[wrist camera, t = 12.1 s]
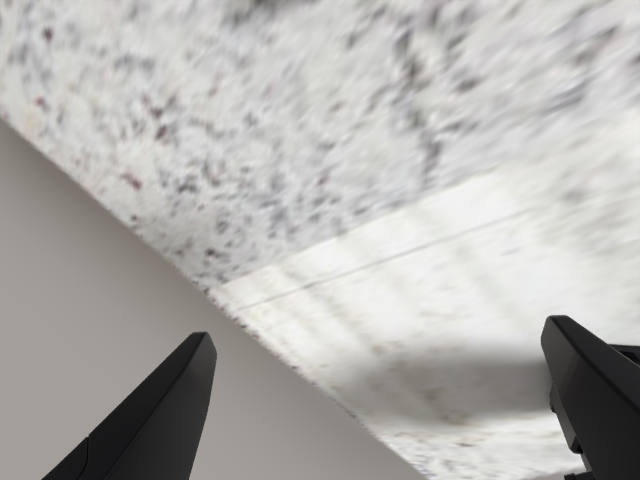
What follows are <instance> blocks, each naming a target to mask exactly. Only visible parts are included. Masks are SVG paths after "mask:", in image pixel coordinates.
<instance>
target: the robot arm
mask: <svg viewBox="0 0 640 480" xmlns="http://www.w3.org/2000/svg"><path fill="white" fill-rule="evenodd" d="M541 346H542V349H543V352H544V355H545V358H546V361H547V364H548V367H549V370H550V373H551V376H552V379H553V382H554V383H553V386H552V389H551V393H550V399H551V400H550V408H551V410H552V412H554V413H556V415H557V417H558V420H559V422H560V425H561V428H562V430H563V433H564V436H565V438H566V441H567V444H568V446H569V449H570V450H571V451H572V452H573V453H576V454H580V455H581V458H582V460H583V463H584V465H585V468H586V470H587V472H583V473H579V474H574V473H571V474H567V475H564V478H565V480H640V348H637V347H621V346H610V345H608V344H607V343H605V342H604V341H603V340H601V339H600V338H598V337H597V336H596V335H594V334H593V333H591V332H590V331H588V330H587V329H586V328H584V327H583V326H581V325H580V324H579V323H577V322H576V321H574V320H573V319H571V318H570V317H568V316H566V315H551V316H548V317H547V319H546V322H545V325H544V328H543V331H542V335H541ZM216 360H217V352H216V348H215V346H214V344H213V342H212V339H211V337H210V335H209V333H208V332H194V333H192V334H191V335H189V336H188V337H187V338H186V340H185V341H183V342H182V343H181V344H180V345H179V346H178V347H177V348H176V349H175V350H174V351H173V352H172V353H171V354H170V355H169V356H168V357H167V358H166V359H165V360H164V361H163V362H162V363H161V364H160V365H159V366H158V367H157V368H156V369H155V370H154V371H153V372H152V373H151V374H150V375H149V376H148V377H147V378H146V379H145V380H144V381H143V382H142V383H141V384H140V385H139V386H138V387H137V388H136V389H135V390H134V391H133V392H132V393H131V394H130V395H129V396H128V397H127V398H126V399H124V400H123V401H122V403H121V404H119V405H118V406H117V407H116V408H115V410H113V411H112V412H111V413H110V414H109V415H108V416H107V417H106V418H105V419H104V420H103V421H102V422H101V423H100V424H99V425H98V426H97V427H96V428H95V429H94V430H93V431H92V432H91V433H90V434H89V437H86V438H85V439H84V440H83V441H82V442H81V443H80V444H79V445H78V446H77V447H76V448H75V449H74V450H73V451H72V452H70V454H68V455H67V456H66V457H65V458H64V459H63V460H62V461H61V462H60V463H59V464H58V465H57V466H56V467H55V468H54V469H53V470H51V471H50V472H49V473H48V474H47V475H46V476H45V477H44V478H42V479H41V480H189V477H190V473H191V470H192V466H193V462H194V459H195V455H196V452H197V448H198V445H199V441H200V437H201V434H202V430H203V426H204V423H205V419H206V416H207V412H208V406H209V402H210V396H211V389H212V384H213V377H214V372H215V366H216Z"/></svg>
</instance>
